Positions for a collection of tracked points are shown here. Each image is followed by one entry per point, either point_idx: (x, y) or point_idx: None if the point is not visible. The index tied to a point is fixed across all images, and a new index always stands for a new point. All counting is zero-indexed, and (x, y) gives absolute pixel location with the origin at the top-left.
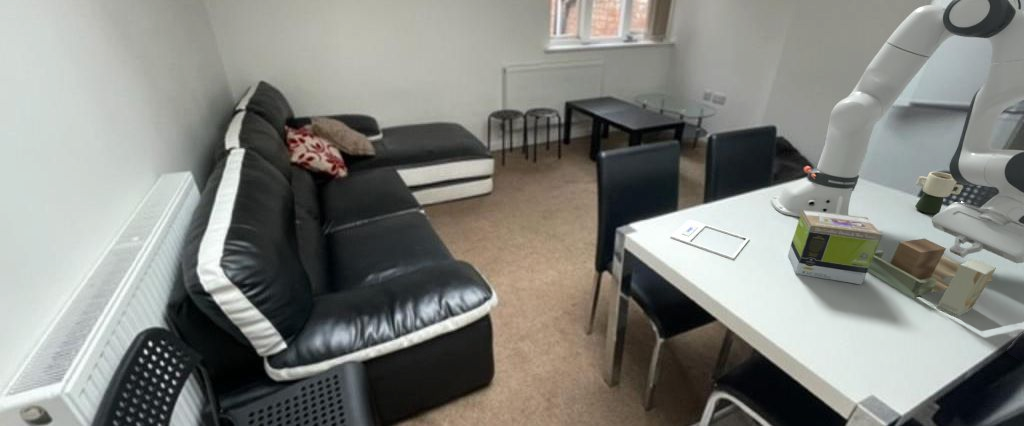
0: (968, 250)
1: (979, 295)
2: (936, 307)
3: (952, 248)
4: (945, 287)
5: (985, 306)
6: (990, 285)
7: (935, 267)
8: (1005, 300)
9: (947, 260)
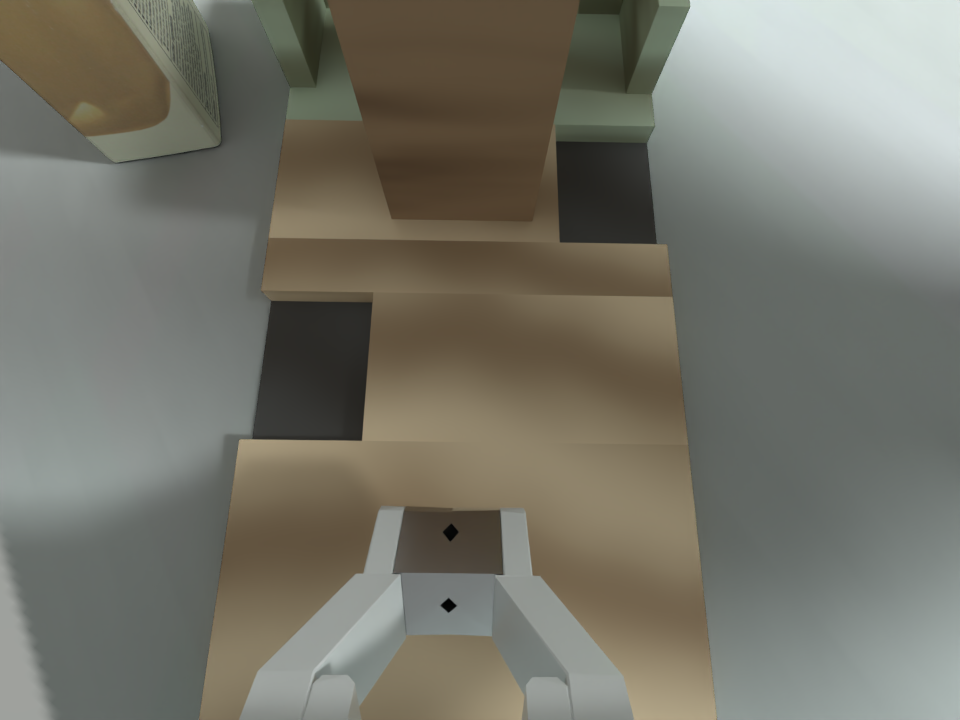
0: (356, 583)
1: (3, 60)
2: (204, 22)
3: (506, 518)
4: (286, 212)
5: (93, 302)
6: (205, 655)
7: (372, 149)
8: (56, 521)
9: None
